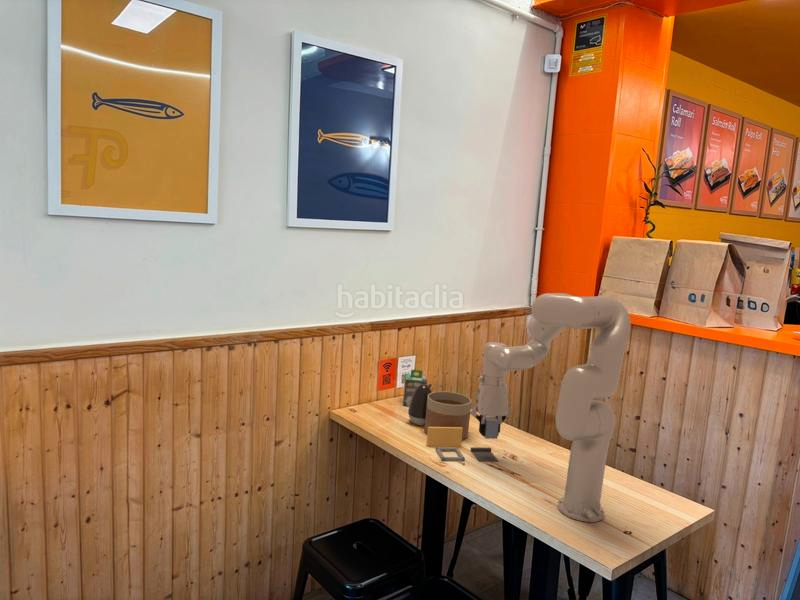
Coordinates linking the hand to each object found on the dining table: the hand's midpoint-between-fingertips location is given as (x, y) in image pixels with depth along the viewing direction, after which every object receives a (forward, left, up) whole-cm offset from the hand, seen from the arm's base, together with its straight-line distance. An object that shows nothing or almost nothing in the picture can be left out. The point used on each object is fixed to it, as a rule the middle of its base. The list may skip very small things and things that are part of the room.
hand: (489, 434), depth 192 cm
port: (+3, +12, -8) cm, 15 cm away
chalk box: (+55, +13, -9) cm, 57 cm away
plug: (0, 0, -1) cm, 1 cm away
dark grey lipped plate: (+1, 0, -8) cm, 8 cm away
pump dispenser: (+32, +15, -9) cm, 36 cm away
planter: (+21, +8, -9) cm, 24 cm away
